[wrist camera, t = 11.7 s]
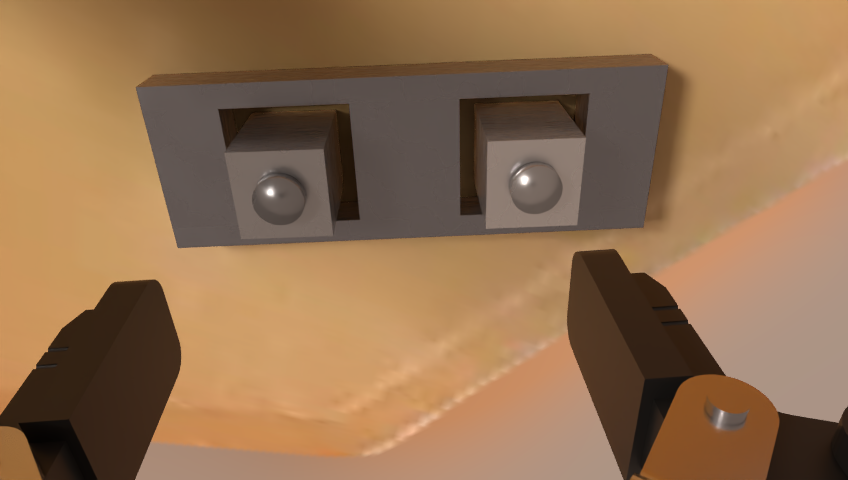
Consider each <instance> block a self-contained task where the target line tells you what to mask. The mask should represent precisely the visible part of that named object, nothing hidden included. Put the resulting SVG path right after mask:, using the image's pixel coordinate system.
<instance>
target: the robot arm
mask: <svg viewBox="0 0 848 480" xmlns="http://www.w3.org/2000/svg"><path fill="white" fill-rule="evenodd" d="M567 326H568V335H569V340H570V344H571V347H572V350H573V352H574V355H575V358H576V360H577V363H578V365H579V368H580V370H581V373H582V375H583V378H584V380H585V383H586V385H587V388H588V390H589V393H590V395H591V398H592V401H593V403H594V406H595V408H596V410H597V413H598V416H599V418H600V421H601V423H602V426H603V428H604V431H605V433H606V436H607V439H608V441H609V444H610V446H611V449H612V451H613V454H614V456H615V459H616V461H617V464H618V466H619V469H620V471H621V474H622V477H623V479H624V480H848V407H847V408H846V409H845V411H844V412H843V414H842V417H841V419H840V421H839V423H836V422H830V421H823V420H818V419H812V418H806V417H800V416H794V415H789V414H784V413H780V412H777V411H776V408H775V407H774V406H773V404H772V402H771V401H770V400H769V399H768V398H767V397H766V396H765V395H764V394H763V393H761V392H760V391H759V390H757V389H756V388H754V387H753V386H751V385H749V384H747V383H745V382H743V381H740V380H738V379H735V378H731V377H727V376H726V375H725V374H724V372H723V371H722V370H721V368H720V367H719V365H718V364H717V362H716V361H715V359H714V358H713V357H712V355H711V354H710V352H709V350H708V349H707V347H706V346H705V345H704V343H703V342H702V340H701V339H700V337H699V336H698V334H697V333H696V331H695V330H694V328H693V327H692V325H691V324H688V320H687V318H686V317H685V315H684V314H683V312H682V311H681V309H678V305H677V303H676V302H675V300H674V299H673V297H672V296H671V295H670V293H669V292H668V290H667V289H666V287H664V286H663V285H661V284H660V283H659V282H657V281H656V280H654V279H653V278H651V277H650V276H648V275H647V274H646V273H632V274H631V273H630V271H629V270H628V268H627V267H626V265H625V263H624V262H623V260H622V259H621V257H620V255H619V254H618V252H617V251H616V250H614V249H609V250H594V251H580V252H575V254H574V256H573V260H572V269H571V280H570V291H569V302H568V313H567ZM180 365H181V347H180V342H179V339H178V336H177V333H176V329H175V326H174V323H173V320H172V317H171V314H170V311H169V308H168V304H167V301H166V298H165V295H164V292H163V289H162V287H161V285H160V283H159V282H158V281H157V280H139V281H124V282H114V283H112V284H111V285H110V286H109V288H108V289H107V291H106V292H105V294H104V295H103V297H102V298H101V300H100V301H99V303H98V304H97V306H96V307H95V309H94V310H85V311H84V312H83V313H81V314H80V315H79V316H78V317H76V318H75V319H74V320H72V321H71V322H70V323H69V324H67V325H66V326H65V327H63V328H62V329H61V331H60V332H59V334H58V335H57V336H56V338H55V339H54V341H53V342H52V343H51V345H50V346H49V348H48V352H45V353H44V355H43V356H42V358H41V359H40V360H39V362H38V363H37V365H36V369H33V370H32V372H31V373H30V374H29V376H28V377H27V379H26V380H25V381H24V383H23V384H22V386H21V387H20V388H19V390H18V391H17V393H16V394H15V395H14V397H13V398H12V400H11V401H10V403H9V404H8V405H7V407H6V408H5V410H4V411H3V412H2V414H1V415H0V480H135V478H136V476H137V473H138V471H139V469H140V466H141V464H142V461H143V459H144V456H145V454H146V452H147V449H148V447H149V444H150V442H151V440H152V437H153V435H154V432H155V430H156V427H157V425H158V423H159V420H160V418H161V415H162V413H163V410H164V408H165V406H166V403H167V401H168V398H169V396H170V394H171V391H172V389H173V386H174V384H175V381H176V379H177V377H178V374H179V370H180Z"/></svg>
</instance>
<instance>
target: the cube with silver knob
mask: <svg viewBox="0 0 848 480" xmlns="http://www.w3.org/2000/svg"><path fill="white" fill-rule="evenodd" d="M585 143H586V137H585V136H584V135H583V133H582V132H581V131H580V129H579V128H578V127H577V125H576V124H575V123H574V121H573V120H572V119H571V117H570V116H569V115H568V113H567V112H566V111H565V109H564V108H563V107H562V106H561V104H560V103H559V102H558V100H557V101H531V102H504V103H478V104H475V121H474V183H475V187H476V191H477V195H478V199H479V203H480V207H481V211H482V215H483V219H484V223H485V227H486V229H493V228H518V227H543V226H569V225H577V222H578V212H579V202H580V192H581V182H582V172H583V162H584V153H585Z"/></svg>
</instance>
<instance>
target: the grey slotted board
mask: <svg viewBox="0 0 848 480" xmlns="http://www.w3.org/2000/svg"><path fill="white" fill-rule="evenodd" d="M667 71H668V64H666V63H665V62H663V61H661V60H660V59H658V58H657V57H655V56H654V55H652V54H642V55H618V56H594V57H570V58H546V59H522V60H498V61H474V62H450V63H427V64H403V65H379V66H355V67H331V68H307V69H283V70H259V71H235V72H212V73H188V74H164V75H152V76H151V77H150V78H148V79H147V80H145V81H144V82H142V83H141V84H140V85H138V86H137V87H136V90H137V94H138V98H139V102H140V106H141V110H142V113H143V117H144V121H145V125H146V129H147V132H148V136H149V140H150V144H151V148H152V151H153V155H154V159H155V163H156V167H157V170H158V174H159V178H160V182H161V186H162V190H163V193H164V197H165V201H166V205H167V209H168V212H169V216H170V220H171V224H172V228H173V231H174V235H175V239H176V243H177V247H178V248H189V247H211V246H234V245H257V244H280V243H302V242H325V241H348V240H371V239H394V238H416V237H439V236H462V235H485V234H507V233H530V232H553V231H576V230H599V229H621V228H643V226H644V219H645V213H646V207H647V200H648V194H649V187H650V181H651V174H652V168H653V161H654V155H655V148H656V142H657V136H658V129H659V123H660V116H661V110H662V103H663V97H664V90H665V84H666V77H667ZM564 94H577V96H576V108H575V119H574V123H575V124H576V125H577V127H578V128H579V129H580V131H581V132H582V133H583V135H584V136H585V137H586V143H585V153H584V162H583V172H582V182H581V192H580V202H579V212H578V222H577V225H569V226H543V227H518V228H493V229H486V227H485V223H484V219H483V215H482V211H481V207H480V203H479V199H478V196H470V197H460V114H459V99H469V98H493V97H517V96H540V95H564ZM328 104H349V110H350V120H351V131H352V141H353V152H354V162H355V173H356V183H357V194H358V201H355V202H340V206H339V210H338V215H337V220H336V225H335V230H334V235H333V236H317V237H291V238H264V239H241V236H240V230H239V225H238V220H237V215H236V210H235V205H234V200H233V195H232V190H231V185H230V179H229V174H228V169H227V164H226V159H225V154H224V152H225V151H226V150H227V148H228V147H229V145H230V144H231V142H232V141H233V140H234V138H235V137H236V135H237V130H236V125H235V120H234V115H233V108H257V107H280V106H304V105H328Z"/></svg>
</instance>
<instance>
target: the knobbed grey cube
mask: <svg viewBox="0 0 848 480" xmlns="http://www.w3.org/2000/svg"><path fill="white" fill-rule="evenodd" d="M224 154H225V159H226V164H227V169H228V174H229V179H230V185H231V190H232V195H233V200H234V205H235V210H236V215H237V220H238V225H239V230H240V236H241V239H264V238H291V237H317V236H333V235H334V230H335V225H336V220H337V215H338V210H339V206H340V201H341V196H342V191H343V186H344V185H343V175H342V165H341V155H340V145H339V135H338V125H337V115H336V110H312V111H284V112H255V113H252V114H251V115H250V117H249V118H248V120H247V121H246V123H245V124H244V125H243V127H242V128H241V130H240V131H239V132H238V134H237V135H236V137H235V138H234V140H233V141H232V142H231V144H230V145H229V147H228V148H227V150H226V151H225V152H224Z"/></svg>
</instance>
